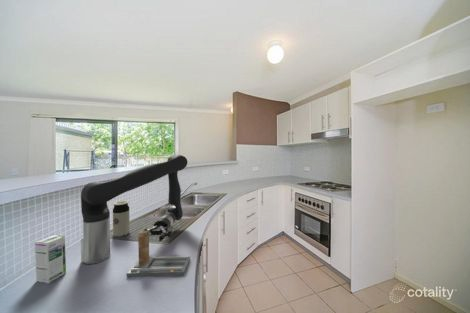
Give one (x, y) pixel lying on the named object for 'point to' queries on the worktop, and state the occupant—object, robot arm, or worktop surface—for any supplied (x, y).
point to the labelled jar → (121, 218)
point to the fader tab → (143, 250)
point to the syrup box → (50, 258)
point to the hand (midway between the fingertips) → (149, 239)
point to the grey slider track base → (162, 267)
